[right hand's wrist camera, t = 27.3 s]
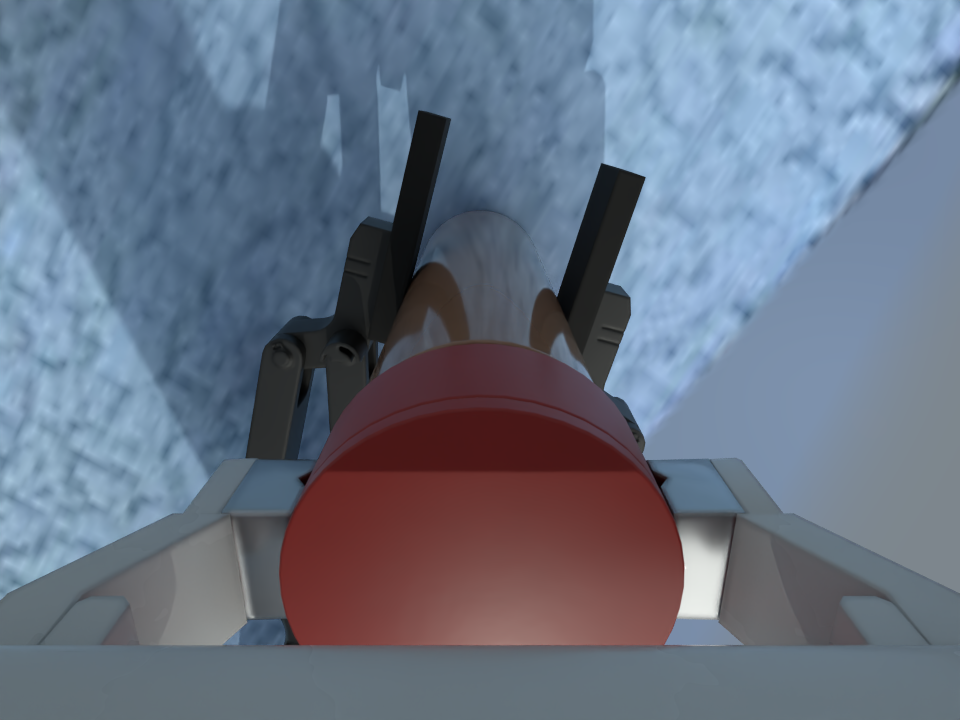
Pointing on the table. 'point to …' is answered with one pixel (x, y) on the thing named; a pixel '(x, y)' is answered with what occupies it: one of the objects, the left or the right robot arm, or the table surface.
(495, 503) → the lid
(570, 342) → the brown bottle
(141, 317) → the table surface
